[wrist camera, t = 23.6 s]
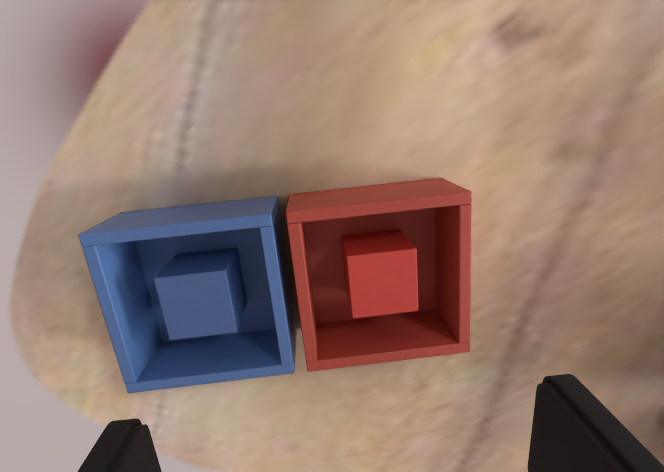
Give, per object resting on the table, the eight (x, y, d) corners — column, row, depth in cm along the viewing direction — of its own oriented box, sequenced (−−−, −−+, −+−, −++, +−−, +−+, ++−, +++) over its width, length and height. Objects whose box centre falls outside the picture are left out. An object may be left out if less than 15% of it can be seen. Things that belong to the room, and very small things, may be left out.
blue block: (176, 253, 29) (153, 278, 24) (237, 247, 29) (225, 270, 25) (189, 308, 30) (169, 340, 26) (247, 301, 30) (237, 332, 26)
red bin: (289, 194, 29) (285, 211, 23) (442, 177, 29) (472, 191, 24) (307, 329, 32) (307, 372, 27) (443, 313, 32) (470, 352, 27)
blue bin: (120, 212, 28) (77, 234, 23) (277, 195, 29) (270, 213, 23) (157, 347, 32) (127, 393, 26) (296, 330, 32) (294, 373, 27)
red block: (340, 235, 29) (346, 256, 25) (400, 228, 29) (416, 248, 25) (346, 290, 31) (352, 319, 26) (402, 283, 31) (418, 311, 26)
